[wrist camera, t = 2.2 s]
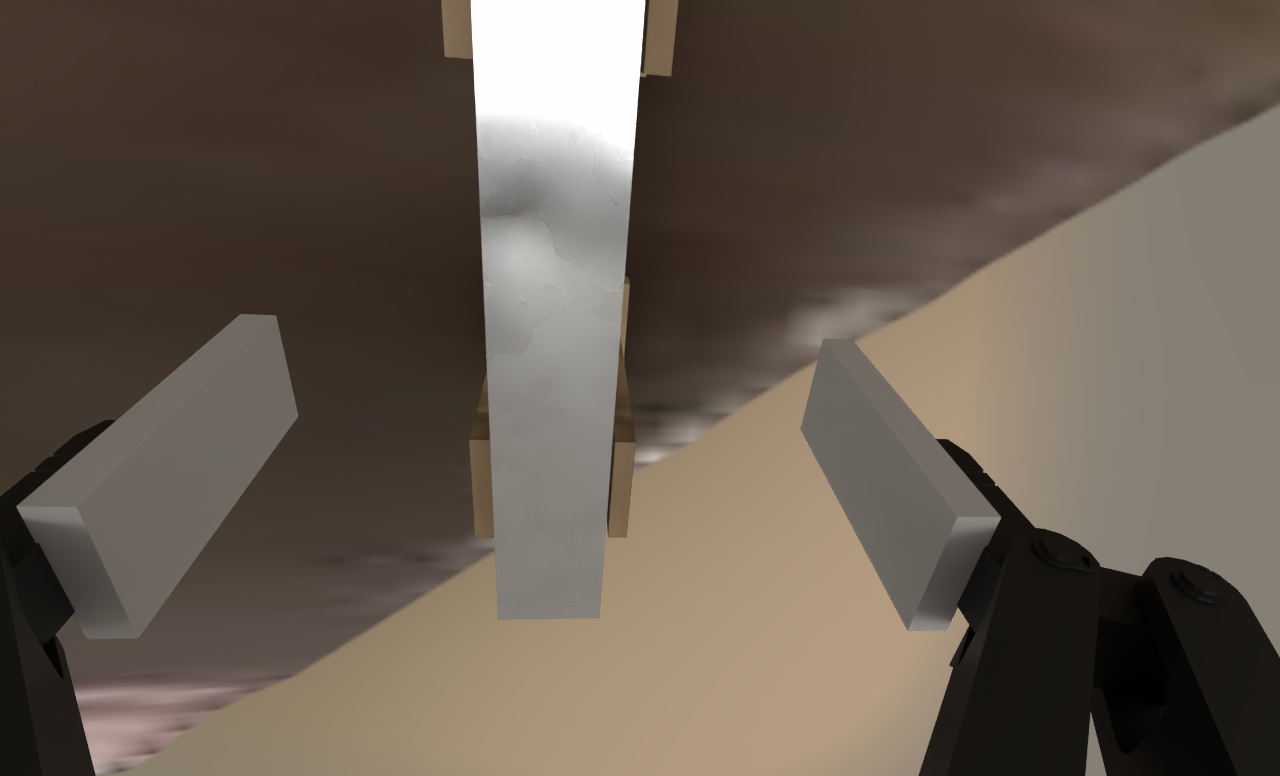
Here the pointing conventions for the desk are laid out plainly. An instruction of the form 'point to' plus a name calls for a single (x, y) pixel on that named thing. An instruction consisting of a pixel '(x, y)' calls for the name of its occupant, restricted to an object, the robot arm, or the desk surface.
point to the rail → (553, 282)
